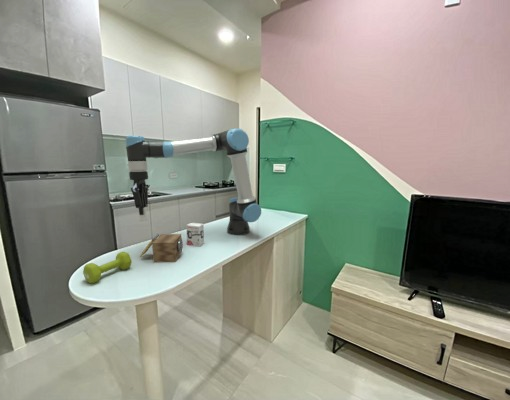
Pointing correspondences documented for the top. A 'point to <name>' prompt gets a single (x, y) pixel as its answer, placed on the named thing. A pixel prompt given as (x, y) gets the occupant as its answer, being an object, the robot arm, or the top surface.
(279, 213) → the top surface
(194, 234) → the ink box
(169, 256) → the block
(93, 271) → the dumbbell
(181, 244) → the pin
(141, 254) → the tan flat board
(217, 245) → the top surface
